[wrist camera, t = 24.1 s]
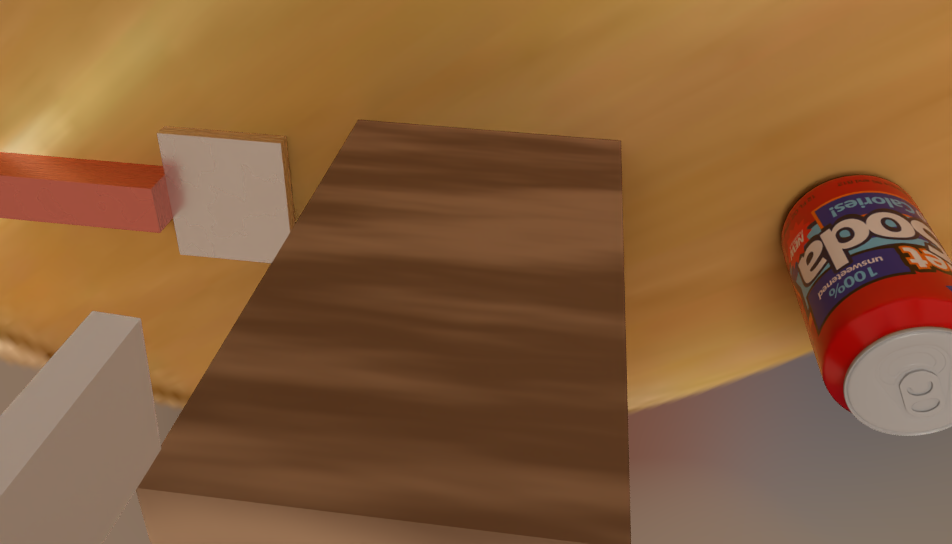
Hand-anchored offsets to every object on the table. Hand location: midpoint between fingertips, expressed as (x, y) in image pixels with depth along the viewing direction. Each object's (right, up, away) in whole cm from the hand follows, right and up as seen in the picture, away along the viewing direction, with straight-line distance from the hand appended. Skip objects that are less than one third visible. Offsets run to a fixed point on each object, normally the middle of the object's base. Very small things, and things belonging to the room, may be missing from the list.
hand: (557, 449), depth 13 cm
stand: (-1, +6, +42) cm, 43 cm away
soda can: (+21, +6, +40) cm, 45 cm away
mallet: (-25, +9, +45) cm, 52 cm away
